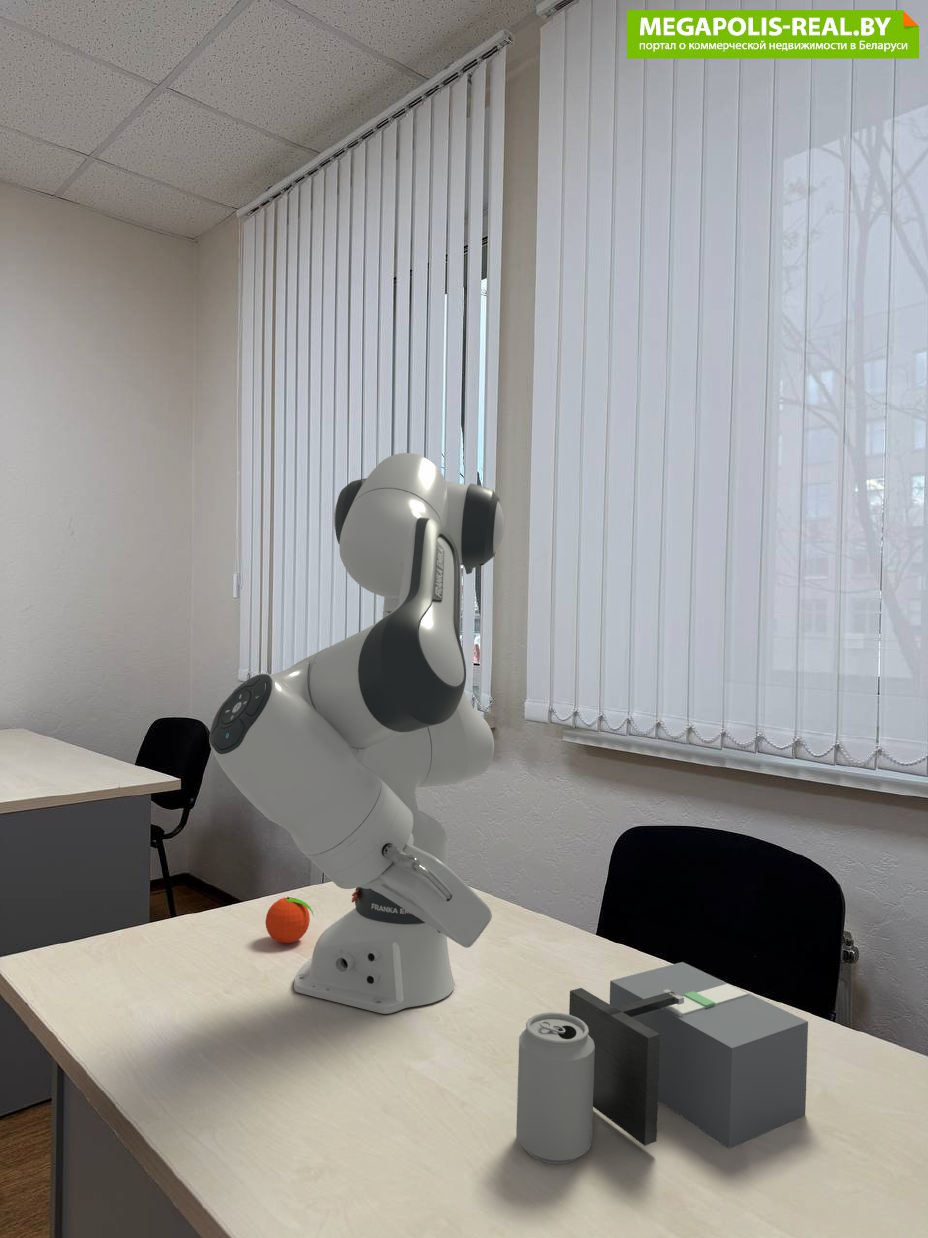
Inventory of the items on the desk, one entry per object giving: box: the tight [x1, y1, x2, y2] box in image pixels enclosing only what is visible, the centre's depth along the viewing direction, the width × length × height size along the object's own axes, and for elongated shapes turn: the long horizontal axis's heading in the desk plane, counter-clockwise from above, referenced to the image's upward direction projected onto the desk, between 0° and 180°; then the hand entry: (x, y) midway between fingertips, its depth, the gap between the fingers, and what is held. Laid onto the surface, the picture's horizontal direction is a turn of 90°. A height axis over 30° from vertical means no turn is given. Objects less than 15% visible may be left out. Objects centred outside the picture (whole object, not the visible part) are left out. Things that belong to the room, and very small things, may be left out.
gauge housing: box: [609, 961, 809, 1149], centre depth 95 cm, size 12×18×10 cm, turn 32°
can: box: [515, 1011, 595, 1165], centre depth 84 cm, size 8×8×12 cm
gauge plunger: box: [568, 987, 684, 1147], centre depth 90 cm, size 10×12×10 cm
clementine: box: [265, 896, 315, 944], centre depth 135 cm, size 8×7×7 cm
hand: (454, 929), depth 78 cm, fingers closed
